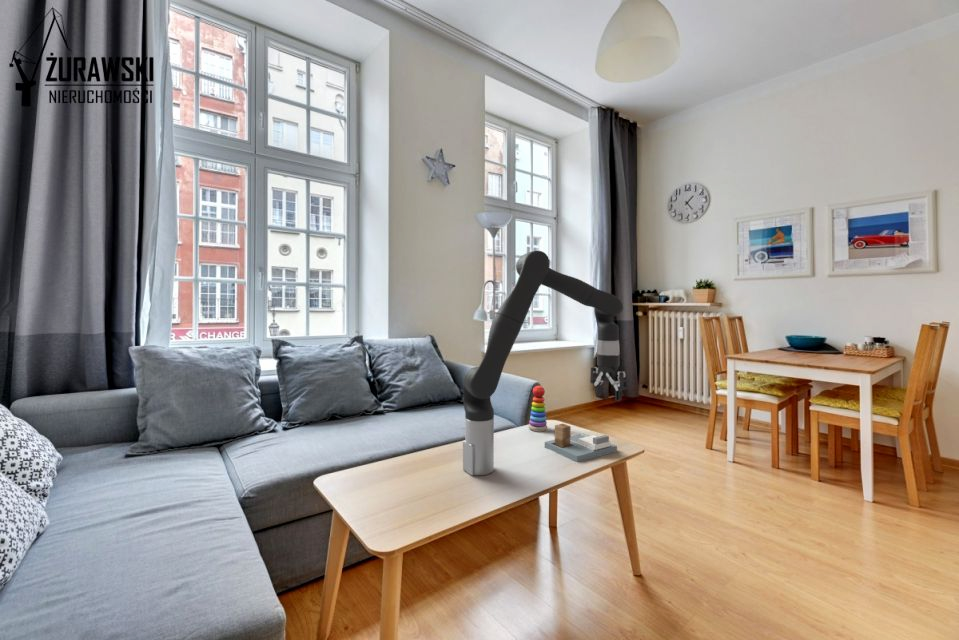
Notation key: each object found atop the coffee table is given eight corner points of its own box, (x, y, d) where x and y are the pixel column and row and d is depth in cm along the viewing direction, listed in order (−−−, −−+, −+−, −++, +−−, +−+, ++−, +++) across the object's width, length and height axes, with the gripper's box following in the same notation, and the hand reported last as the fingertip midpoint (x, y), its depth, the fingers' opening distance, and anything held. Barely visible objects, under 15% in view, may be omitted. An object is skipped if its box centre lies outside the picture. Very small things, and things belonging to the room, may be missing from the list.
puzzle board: (576, 462, 140) (577, 454, 140) (544, 447, 155) (544, 440, 155) (616, 451, 151) (617, 444, 151) (582, 438, 165) (583, 431, 165)
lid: (594, 450, 145) (594, 439, 145) (578, 443, 152) (578, 433, 152) (610, 446, 149) (610, 435, 149) (593, 439, 156) (593, 429, 156)
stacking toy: (548, 432, 173) (549, 388, 172) (529, 432, 173) (529, 387, 172) (546, 426, 181) (546, 384, 180) (527, 426, 181) (528, 384, 180)
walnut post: (562, 452, 149) (562, 428, 149) (554, 449, 153) (555, 425, 152) (570, 450, 152) (570, 426, 151) (562, 447, 155) (563, 423, 155)
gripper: (585, 351, 148) (585, 396, 149) (617, 356, 136) (617, 404, 137) (599, 350, 153) (599, 393, 153) (632, 354, 141) (632, 401, 141)
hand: (608, 398), depth 145 cm, fingers open, 8 cm apart
